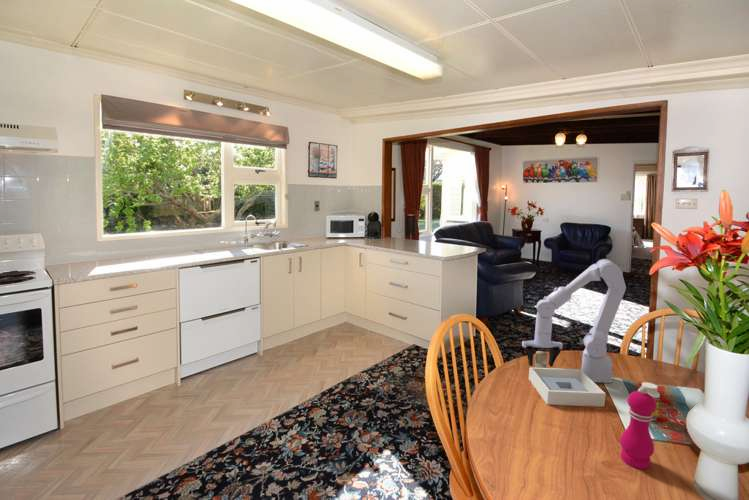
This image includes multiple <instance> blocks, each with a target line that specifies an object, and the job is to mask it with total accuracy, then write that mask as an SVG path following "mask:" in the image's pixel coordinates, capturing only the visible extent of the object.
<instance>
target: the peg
mask: <svg viewBox="0 0 749 500" xmlns="http://www.w3.org/2000/svg"><path fill="white" fill-rule="evenodd" d="M547 360H548V353H547V352H546V351H543V350H542V351H541V350H537V351H535V361H534V368H547V362H548V361H547Z"/></svg>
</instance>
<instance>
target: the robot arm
mask: <svg viewBox="0 0 749 500" xmlns="http://www.w3.org/2000/svg"><path fill="white" fill-rule="evenodd" d="M623 274H624V273H623V271H622V270H621V268H620V267H619V265H617V264H616V263H615V262H612V261H611V260H610V259H608V258H602V259H601V258H600V259H598V261H597V262H596V263H593V264H591V265H590V266H589V267H587V269H585V270H584V271H582V273H580V274H579V275H578V276H576V278H574V279H573V280H572V281H570V283H568V284H567V285H566V286H558V287H557V286H555V288H553V291H552V292H551V293H550V294H548V295H547V296H546V295H545V296H544V297H543V299H540V300H538V302H537V303H536V304H535V307H536V310H537V311H536V318H535V328H534V329H535V330H534V339H531V340H522V341H521V346H522V347H523V348H524V351H525V353H526V357H527V360H528V366H529V367H533V361H534V354H535V350H534V348H542V349H543V348H546V349H547V348H548V350H549V352H548V353H549V356H548V366H549V367H550V368H554V364H555V362H556V359H557V357H558V356H559V355H560V354H561V350H562V349H563V345H564V344H563V343H562V342H561V341H553V340H552V329H553V328H552V327H553V316H554V314H555V310H558V309H559V308H561V307H562V306H564V305H565V304H566V303H567V302H569V301H570V300H572V295H573V294H574V293H576V292H577V291H578V290H580V289H581V288H582V287H583V288H584V286H585V285H587V284H588V283H590V282H599V281H602V280H603V281H604V282H605V283H606V285H607V287H608V289H607V291H606V293H605V296H604V299H603V302H602V304H601V306H600V309H599V311H598V314H597V316H596V319H595V322H594V324H593V327H591V328H590V329H589V332H587V334H586V335H585V336H584V338H583V340H582V341H583V345H584V346H585V348H584V350H583V351H582V357H581V358H582V360H581V369H580V370H581V371H582V372H583V373H584V374H585V375H587V376H588V377H589V378H590V379H591V380H592V381H593V382H594V383H604V384H605V383H607V384H608V383H611V384H612V383H613V380H612V373H613V360H612V357H611V356H610V355H608V354H607V351H608V348H607V345H608V341H609V333H610V330H611V327H612V324H613V322H614V320H615V317H616V315H617V312H618V310H619V308H620V304H621V302H622V300H623V297H624V295H625V292H626V289H627V286H626V282H625V279H624V276H623Z"/></svg>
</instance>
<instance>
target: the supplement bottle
mask: <svg viewBox="0 0 749 500" xmlns="http://www.w3.org/2000/svg"><path fill="white" fill-rule="evenodd" d="M640 387H645V388H646V389H647V393H648V394H650V395H651V396H652V397H653V398H654V399H655V401H656V410H655V411H654V412H653V413H652V414H653V416H652V421H651V422H653V421H656V420H657V419H658V412H659V406H660V397H661V394H660V392H658V385H656V384H654V383H652V382H646V381H645V382H644V381H643V382H642V383H641V386H640ZM637 391H639V388H638V389H637Z"/></svg>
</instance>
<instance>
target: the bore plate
mask: <svg viewBox="0 0 749 500" xmlns="http://www.w3.org/2000/svg"><path fill="white" fill-rule="evenodd" d="M541 380H542V381H543V382H544V384H545V385H546V386H547V387H548V389H549V390H557V391H584V392H589V391H588V390H587V389H586V388H585V387H584V386H583V385H582V384H581V383H580V382H579V381H578V380H577V379H576V378H553V377H541ZM561 388H570V389H561Z"/></svg>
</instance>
